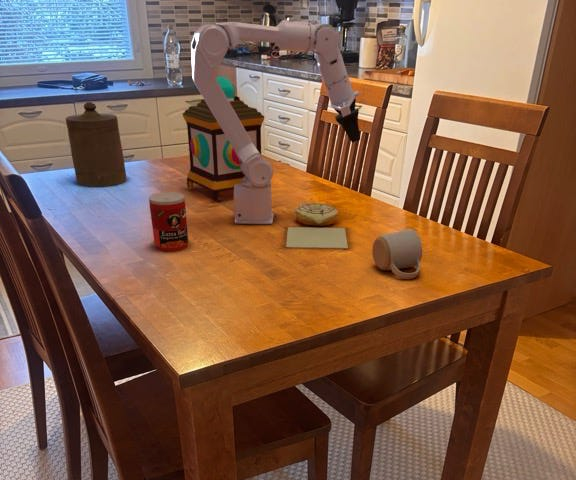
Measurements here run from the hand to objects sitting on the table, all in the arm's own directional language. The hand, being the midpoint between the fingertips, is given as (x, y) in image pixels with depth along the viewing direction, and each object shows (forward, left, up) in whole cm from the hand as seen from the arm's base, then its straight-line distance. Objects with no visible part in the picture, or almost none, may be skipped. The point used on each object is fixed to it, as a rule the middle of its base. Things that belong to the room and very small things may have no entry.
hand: (354, 135), depth 144 cm
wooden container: (-75, +29, -19) cm, 83 cm away
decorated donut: (-9, -8, -19) cm, 23 cm away
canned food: (-42, -27, -19) cm, 54 cm away
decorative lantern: (-35, +19, -19) cm, 44 cm away
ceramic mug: (+8, -39, -19) cm, 44 cm away
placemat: (-9, -20, -19) cm, 29 cm away
